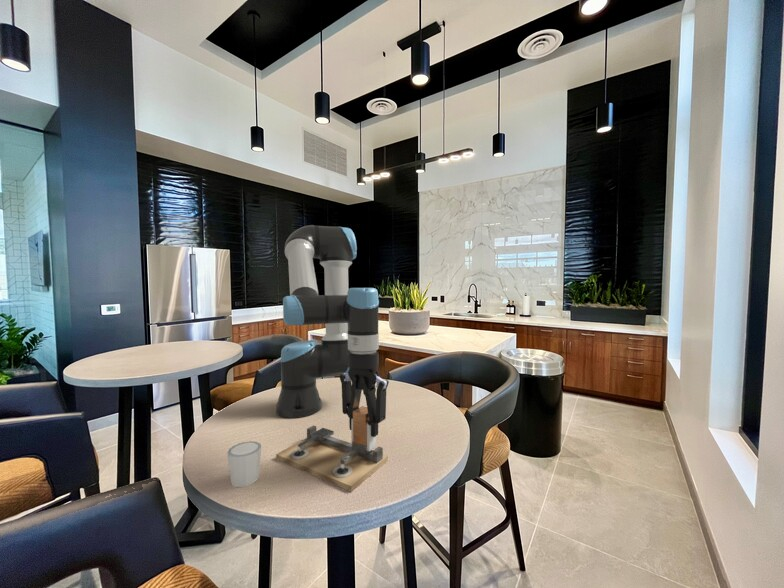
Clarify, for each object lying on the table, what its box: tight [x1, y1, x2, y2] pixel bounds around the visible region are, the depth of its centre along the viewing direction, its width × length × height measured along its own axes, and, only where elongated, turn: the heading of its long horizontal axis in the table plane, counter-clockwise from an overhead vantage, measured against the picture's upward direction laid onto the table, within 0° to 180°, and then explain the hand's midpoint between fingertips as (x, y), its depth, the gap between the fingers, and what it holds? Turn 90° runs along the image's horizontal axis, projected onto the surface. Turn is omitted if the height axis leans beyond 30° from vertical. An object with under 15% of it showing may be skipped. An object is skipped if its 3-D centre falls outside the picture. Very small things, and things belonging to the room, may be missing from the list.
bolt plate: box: [275, 425, 389, 493], centre depth 78 cm, size 24×14×4 cm, turn 58°
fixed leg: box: [298, 427, 335, 454], centre depth 83 cm, size 4×11×2 cm, turn 148°
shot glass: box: [227, 440, 262, 488], centre depth 71 cm, size 7×7×7 cm
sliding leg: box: [341, 405, 375, 471], centre depth 75 cm, size 4×11×11 cm, turn 148°
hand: (363, 445), depth 78 cm, fingers closed on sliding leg, 4 cm apart
